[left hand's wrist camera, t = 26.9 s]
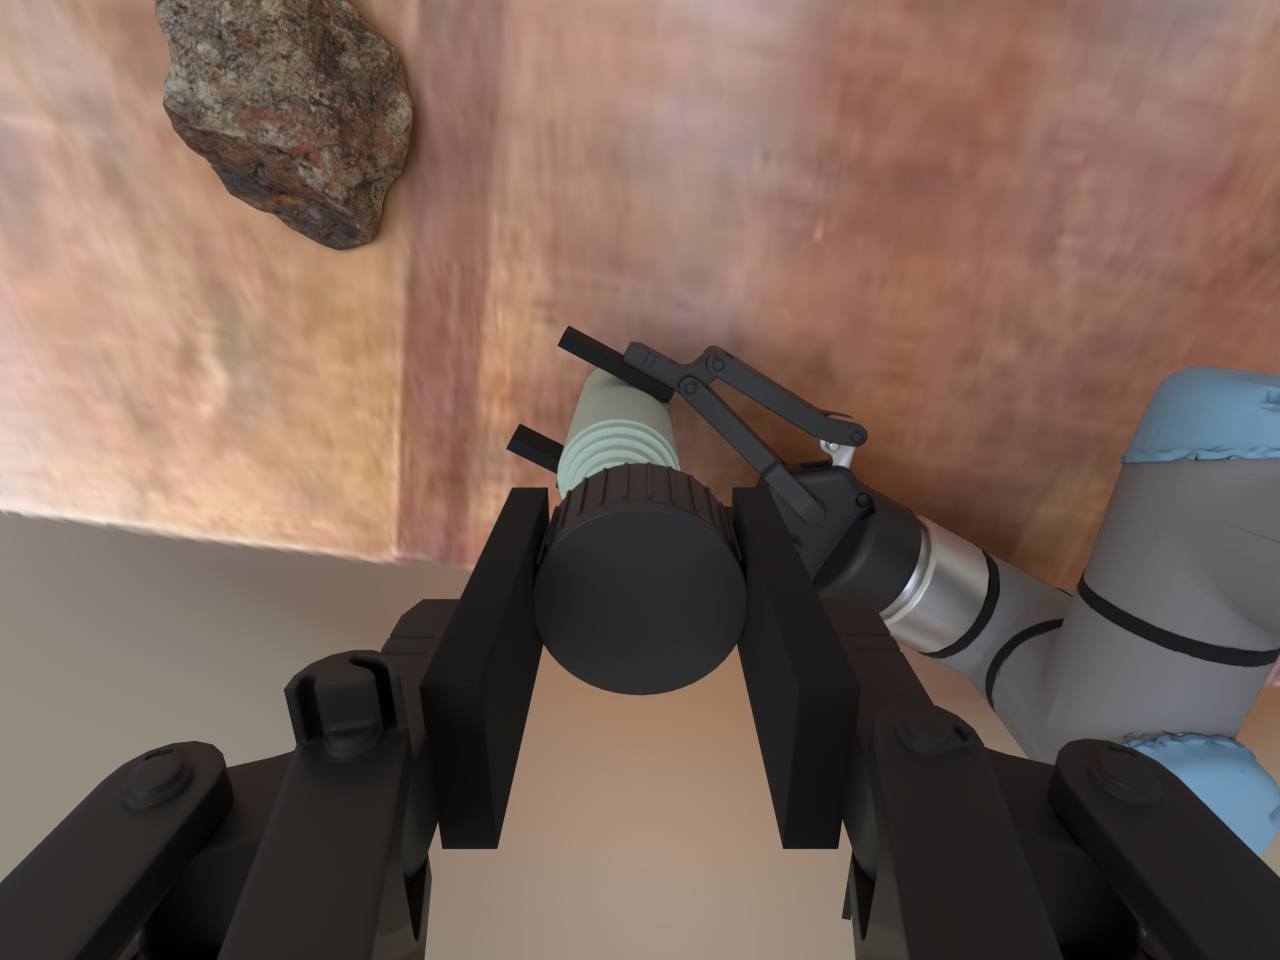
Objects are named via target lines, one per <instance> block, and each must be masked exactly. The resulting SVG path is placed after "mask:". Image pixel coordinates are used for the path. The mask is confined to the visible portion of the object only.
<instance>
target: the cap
mask: <svg viewBox="0 0 1280 960" xmlns="http://www.w3.org/2000/svg"><path fill="white" fill-rule="evenodd" d="M741 563H744V561H743V558H742V554H741V551H740V548H739V544H738V541H737V538H736V534H735V531H734V528H733V524H732V521H731V520H728V519H727V516H726V513H725V509H724V506H723V504H722V502H720V503H719V502H718V501H717V499H716V498H715V497H714V495H713V494H712V493H711V491H710V488H709V487H705V486H703V485H702V484H701V483H699V482H698V481H697V480H695V479H694V478H693V476H692V475H690V474H689V475H687V474H685V473H683V472H680V471H678V470H676V469H673V467H671V466H669V467H666V466H662V465H656V464H651V462H647V463H632V464H629V463H628V462H627V463H624V464H623V465H618V466H614V467H610V468H607V467H605V468H603V470H602V471H599V472H597V473H595V474H593V475H591V476H589V477H588V478H587V477H585V478H583V481H582V482H580V483H579V484H578V485H577V486H576V487H575V488H573V489H572V490H568V491H567V493H566V497H565V498H564V499H563V500H562V502H561V504H560V505H559V507H558V506H556V507H555V509H554V512H553V515H552V519H551V522H550V524H548V525H547V528H546V532H545V535H544V538H543V542H542V545H541V548H540V552H539V555H538V558H537V562H536V567H537V568H538V570H537V573H536V577H535V580H534V584H533V592H534V608H535V623H536V628H537V631H538V634H539V636H540V638H541V640H542V642H543V644H544V645H545V647H546V648H547V650H548V651H549V653H550V654H551V655H552V656H553V658H554V659H555V660H556V661H557V662H558V663H559V664H560V665H561V666H562V667H563V668H565V669H566V670H567V671H568V672H570V673H571V674H572V675H574V676H575V677H577V678H578V679H580V680H582V681H584V682H586V683H588V684H590V685H592V686H595V687H597V688H600V689H603V690H607V691H610V692H614V693H620V694H627V695H652V694H660V693H665V692H670V691H673V690H677V689H680V688H683V687H685V686H688V685H690V684H692V683H694V682H696V681H698V680H700V679H701V678H703V677H705V676H706V675H708V674H709V673H710V672H712V671H713V670H714V669H716V668H717V667H718V666H719V665H720V664H721V663H722V662H723V661H724V660H725V659H726V658H727V656H728V655H729V654H730V653H731V652H732V650H733V649H734V647H735V645H736V644H737V642H738V640H739V638H740V636H741V634H742V631H743V629H744V626H745V614H746V599H747V584H746V579H745V576H744V572H743V569H742V565H741Z"/></svg>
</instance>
